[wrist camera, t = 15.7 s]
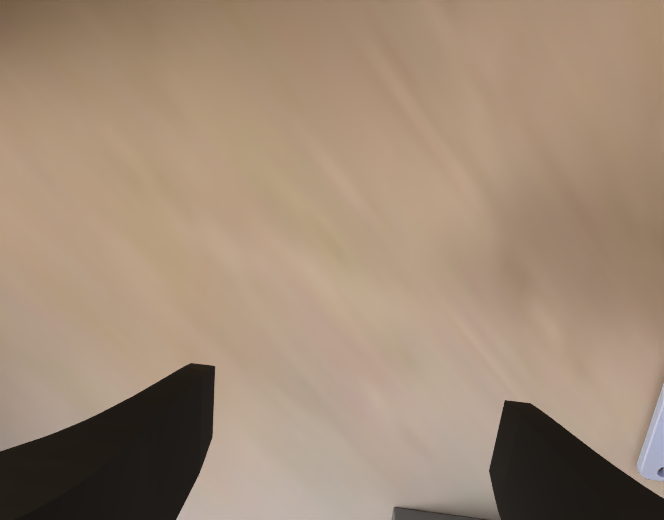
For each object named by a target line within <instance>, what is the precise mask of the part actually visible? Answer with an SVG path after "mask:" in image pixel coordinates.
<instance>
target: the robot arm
mask: <svg viewBox="0 0 664 520" xmlns="http://www.w3.org/2000/svg"><path fill="white" fill-rule="evenodd" d="M214 380H215V366H210V365H202V364H193V363H191V364H188V365H186V366H184V367H183V368H181V369H179V370H177V371H176V372H174V373H172V374H171V375H169V376H167V377H165V378H164V379H162V380H160V381H159V382H157V383H155V384H153V385H152V386H150V387H148V388H147V389H145V390H143V391H141V392H140V393H138V394H136V395H134V396H133V397H131V398H129V399H127V400H125V401H123V402H121V403H119V404H117V405H115V406H113V407H111V408H109V409H107V410H106V411H104V412H102V413H100V414H98V415H96V416H93V417H91V418H89V419H87V420H85V421H82V422H80V423H78V424H76V425H73V426H71V427H68V428H66V429H63V430H61V431H59V432H56V433H54V434H51V435H48V436H46V437H43V438H40V439H37V440H34V441H31V442H28V443H25V444H22V445H19V446H16V447H13V448H10V449H7V450H4V451H1V452H0V520H176V519H177V517H178V515H179V513H180V511H181V509H182V507H183V505H184V503H185V501H186V499H187V497H188V495H189V493H190V491H191V489H192V487H193V485H194V483H195V481H196V479H197V477H198V475H199V473H200V470H201V468H202V465H203V462H204V460H205V457H206V454H207V451H208V448H209V445H210V442H211V439H212V434H213V407H214ZM662 467H664V384H663V387H662V390H661V393H660V396H659V399H658V402H657V405H656V408H655V411H654V414H653V417H652V420H651V423H650V426H649V429H648V432H647V435H646V438H645V441H644V444H643V447H642V450H641V453H640V456H639V459H638V462H637V470H638V472H639V473H640V474H641V475H642V476H643V477H644V478H646V479H651V480H658V481H664V468H663V470H661V471H658V470H659V469H660V468H662ZM489 472H490V477H491V482H492V487H493V491H494V496H495V500H496V504H497V508H498V512H499V515H500V517H501V520H664V498H662V497H660V496H659V495H657V494H655V493H654V492H652V491H651V490H649V489H648V488H646V487H644V486H643V485H641V484H640V483H639V482H637V481H636V480H634V479H633V478H631V477H630V476H628V475H627V474H625V473H624V472H623V471H621V470H620V469H618V468H617V467H615V466H614V465H613V464H611V463H610V462H608V461H607V460H606V459H604V458H603V457H602V456H600V455H599V454H598V453H596V452H595V451H594V450H592V449H591V448H590V447H588V446H587V445H586V444H584V443H583V442H582V441H580V440H579V439H578V438H576V437H575V436H574V435H573V434H571V433H570V432H569V431H567V430H566V429H565V428H564V427H562V426H561V425H560V424H558V423H557V422H556V421H554V420H553V419H552V418H551V417H549V416H548V415H547V414H545V413H544V412H542V411H541V410H540V409H538V408H537V407H535V406H534V405H532V404H530V403H523V402H515V401H506V400H505V402H504V407H503V411H502V416H501V420H500V425H499V429H498V434H497V438H496V443H495V447H494V451H493V456H492V460H491V465H490V469H489Z"/></svg>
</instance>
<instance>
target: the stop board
mask: <svg viewBox="0 0 664 520" xmlns="http://www.w3.org/2000/svg"><path fill="white" fill-rule="evenodd" d="M392 520H482V519H475V518H468V517H460V516H453V515H446V514H438V513H431V512H424V511H416V510H409V509H402V508H394V510H393V515H392Z"/></svg>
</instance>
